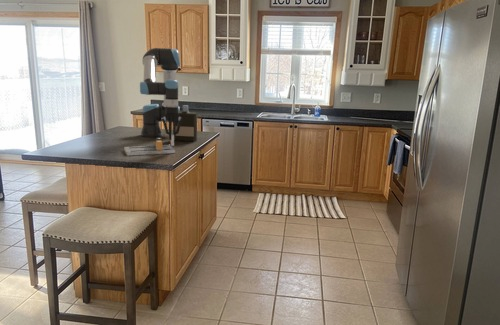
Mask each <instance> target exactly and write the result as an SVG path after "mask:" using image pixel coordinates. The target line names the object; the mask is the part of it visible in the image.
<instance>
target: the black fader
mask: <svg viewBox="0 0 500 325" xmlns="http://www.w3.org/2000/svg"><path fill="white" fill-rule="evenodd" d="M156 141H162V142H163V138H162V137H155V142H156Z"/></svg>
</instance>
